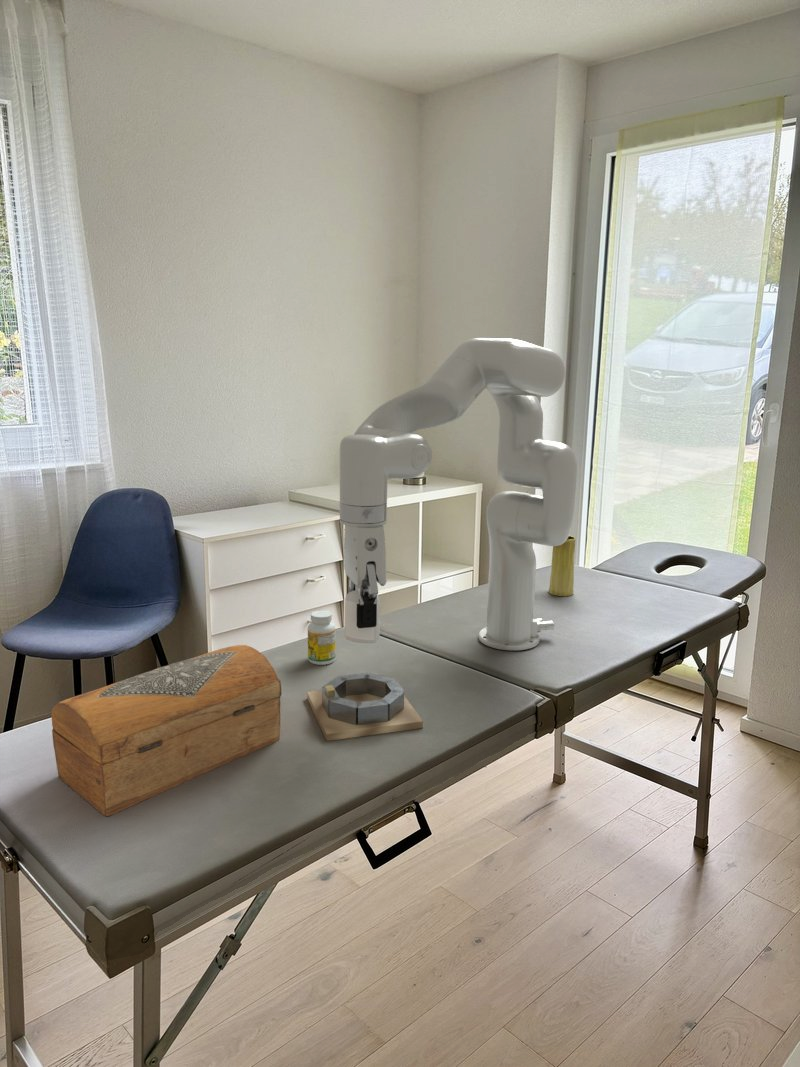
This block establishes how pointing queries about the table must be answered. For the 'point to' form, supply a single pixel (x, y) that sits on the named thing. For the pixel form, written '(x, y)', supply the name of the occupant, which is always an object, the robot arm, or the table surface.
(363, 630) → the eye dropper bottle
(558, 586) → the vase
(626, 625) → the table surface
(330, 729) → the square wooden board
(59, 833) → the table surface
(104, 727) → the wooden box
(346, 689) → the gray octagonal ring
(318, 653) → the supplement bottle
